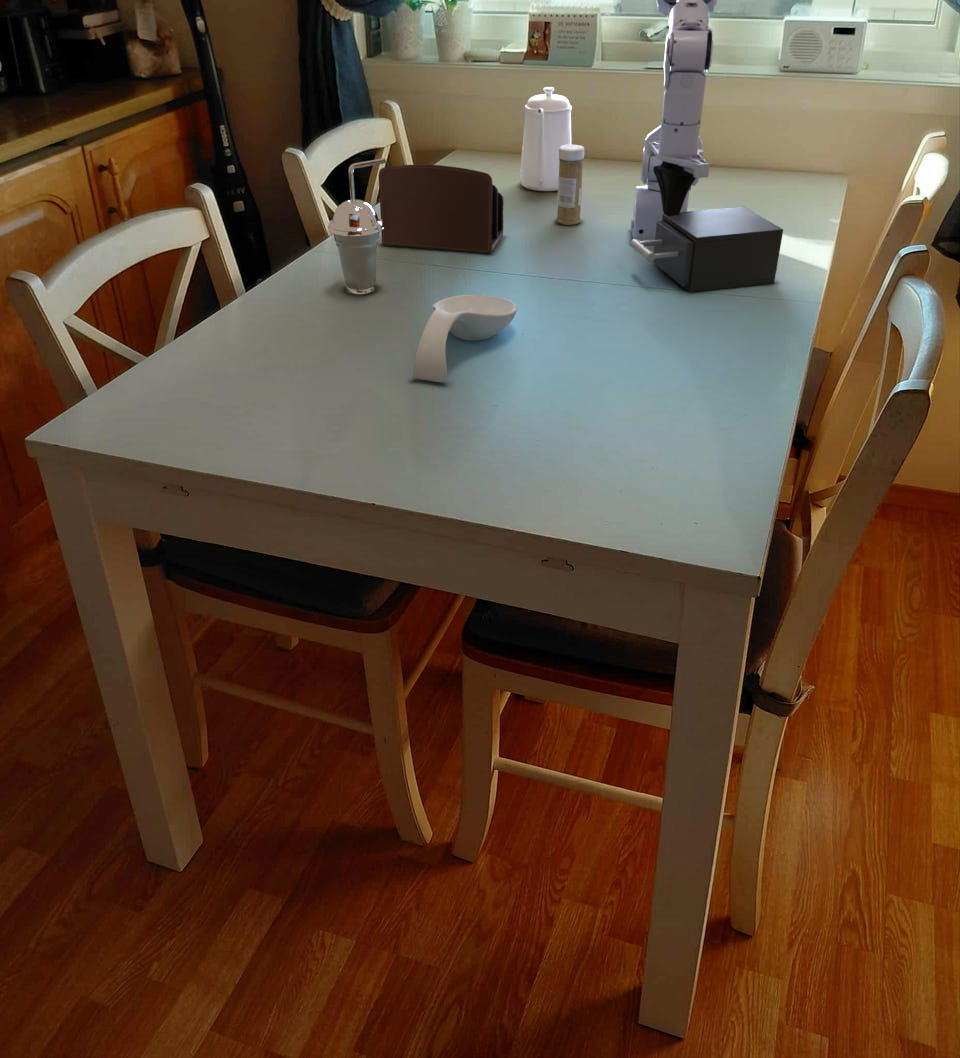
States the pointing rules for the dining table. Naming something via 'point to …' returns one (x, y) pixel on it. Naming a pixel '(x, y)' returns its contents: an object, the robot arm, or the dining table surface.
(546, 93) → the coffeepot
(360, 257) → the cup with straw
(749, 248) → the black drawer cabinet
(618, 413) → the dining table surface
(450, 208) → the letter holder
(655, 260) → the dark grey drawer
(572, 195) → the spice jar
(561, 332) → the dining table surface
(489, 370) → the dining table surface
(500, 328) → the spoon rest
